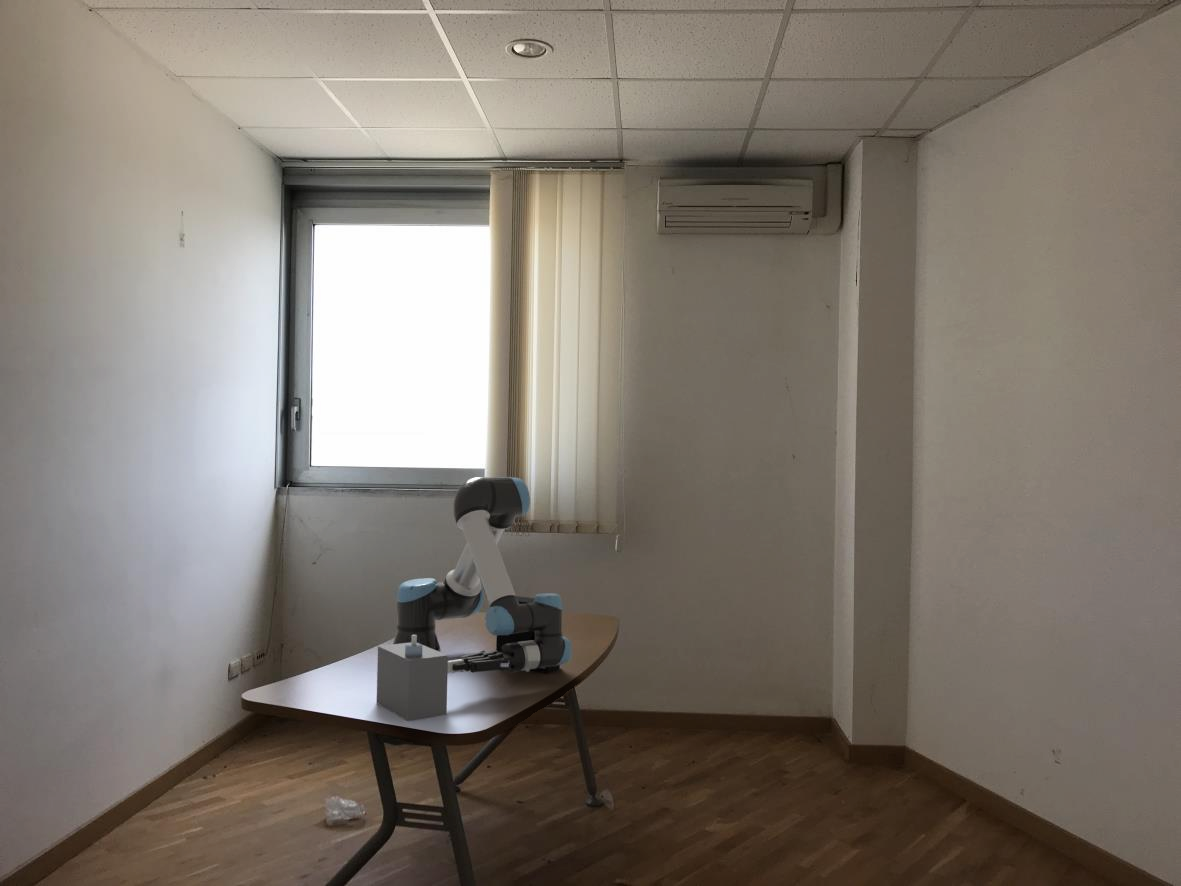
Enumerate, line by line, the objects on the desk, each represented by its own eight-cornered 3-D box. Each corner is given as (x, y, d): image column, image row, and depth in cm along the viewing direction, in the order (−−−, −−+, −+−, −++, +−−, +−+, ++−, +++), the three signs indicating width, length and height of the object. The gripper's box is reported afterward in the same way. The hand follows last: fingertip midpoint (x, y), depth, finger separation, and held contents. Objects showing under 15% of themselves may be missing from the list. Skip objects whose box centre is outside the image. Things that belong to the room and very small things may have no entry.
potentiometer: (402, 654, 207) (402, 634, 207) (417, 652, 209) (418, 632, 209) (409, 658, 204) (410, 637, 204) (425, 656, 206) (425, 635, 206)
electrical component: (563, 668, 255) (564, 600, 256) (544, 675, 247) (545, 605, 247) (514, 660, 264) (516, 594, 265) (494, 667, 256) (496, 598, 256)
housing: (376, 702, 216) (378, 646, 216) (413, 696, 222) (415, 641, 222) (407, 721, 201) (409, 660, 202) (446, 714, 207) (447, 655, 208)
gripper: (532, 675, 225) (451, 689, 210) (505, 665, 235) (426, 677, 221) (532, 646, 225) (452, 658, 211) (506, 638, 235) (427, 648, 221)
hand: (439, 668), depth 216 cm, fingers closed
